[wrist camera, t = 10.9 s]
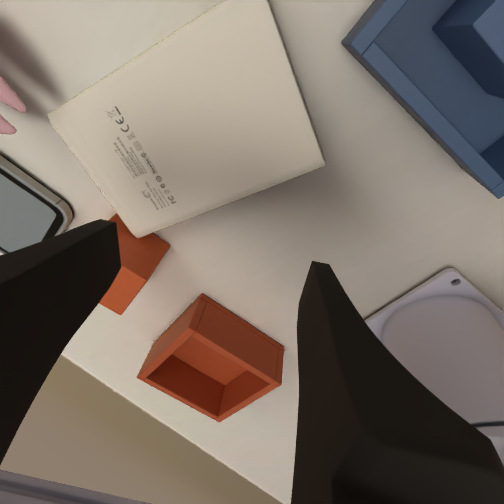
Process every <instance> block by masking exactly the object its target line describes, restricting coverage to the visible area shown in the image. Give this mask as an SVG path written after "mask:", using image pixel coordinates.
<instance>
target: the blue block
mask: <svg viewBox="0 0 504 504" xmlns="http://www.w3.org/2000/svg"><path fill="white" fill-rule="evenodd" d="M432 30H433V31H434V32H435V34H436V35H437V36H438V37H439V38H440V39H441V41H442V42H443V43H444V44H445V45H446V46H447V48H448V49H449V50H450V51H451V52H452V53H453V54H454V56H455V57H456V58H457V59H458V60H459V61H460V63H461V64H462V65H463V66H464V67H465V68H466V70H467V71H468V72H469V73H470V74H471V75H472V77H473V78H474V79H475V80H476V81H477V82H478V84H479V85H480V86H481V87H482V88H483V89H484V90H485V92H486V93H487V94H489V95H493V96H496V97H499V98H502V99H504V0H457V1H456V2H455V3H454V4H453V5H452V6H451V7H450V8H449V9H448V11H447V12H446V13H445V14H444V15H443V16H442V17H441V18H440V19H439V20H438V21H437V22H436V24H435V25H434V26H433V27H432Z"/></svg>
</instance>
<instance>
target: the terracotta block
mask: <svg viewBox="0 0 504 504" xmlns="http://www.w3.org/2000/svg"><path fill="white" fill-rule="evenodd" d="M109 221H112V222H116V223H117V232H118V241H119V249H120V258H121V269H120V271H119V273H118V274H117V276H116V278H115V280H114V282H113V283H112V285H111V287H110V288H109V290H108V291H107V293H106V294H105V295H104V297H103V298H102V299H101V301H100V302H99V303H100V304H101V305H103V306H105V307H107V308H108V309H110V310H112V311H114V312H115V313H117V314H119V315H122V313H123V312H124V311H125V310H126V308H127V307H128V306H129V304H130V303H131V302H132V300H133V299H134V298H135V296H136V295H137V294H138V293H139V291H140V290H141V289H142V287H143V286H144V285H145V283H146V282H147V281H148V279H149V278H150V276H151V275H152V273H153V271H154V270H155V268H156V267H157V265H158V264H159V262H160V261H161V259H162V258H163V256H164V254H165V253H166V251H167V250H168V248H169V247H170V245H169V244H168V243H166V242H165V241H163V240H162V239H160V238H159V237H157V236H156V235H154V234H153V233H150V234H148V235H145V236H143V237H140V238H137V237H135V236H134V235H133V234H132V233H131V232H130V230H129V229H128V228H127V226H126V225H125V224H124V222H123V221H122V219H121V218H120V217H119V215H118V214H117V213H116V214H115V215H114V216H113V217H112V218H111V219H110V220H109Z"/></svg>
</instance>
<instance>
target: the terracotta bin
mask: <svg viewBox="0 0 504 504" xmlns="http://www.w3.org/2000/svg"><path fill="white" fill-rule="evenodd" d="M283 351H284V347H283V346H282V345H280V344H279V343H277V342H276V341H274V340H273V339H271V338H270V337H268V336H267V335H265V334H264V333H262V332H260V331H259V330H257V329H256V328H254V327H253V326H251V325H250V324H248V323H247V322H245V321H244V320H242V319H241V318H239V317H238V316H236V315H234V314H233V313H231V312H230V311H228V310H227V309H225V308H224V307H222V306H221V305H219V304H218V303H216V302H215V301H213V300H212V299H210V298H208V297H207V296H205V295H204V294H201V295H200V296H199V297H198V298H197V299H196V300H195V301H194V302H193V303H192V304H191V305H190V306H189V307H188V308H187V309H186V310H185V312H184V313H183V314H182V315H181V316H180V317H179V318H178V319H177V320H176V321H175V322H174V323H173V324H172V325H171V326H170V327H169V328H168V329H167V330H166V331H165V332H164V333H163V334H162V335H161V336H160V337H159V338H158V339H157V340H156V341H155V342H154V343H153V345H152V348H151V349H150V351H149V353H148V355H147V357H146V359H145V361H144V363H143V365H142V368H141V370H140V372H139V374H138V376H137V378H138V379H140V380H142V381H144V382H145V383H147V384H149V385H151V386H153V387H155V388H157V389H158V390H160V391H162V392H164V393H166V394H168V395H170V396H171V397H173V398H175V399H177V400H179V401H181V402H183V403H184V404H186V405H188V406H190V407H192V408H194V409H196V410H197V411H199V412H201V413H203V414H205V415H207V416H209V417H210V418H212V419H214V420H216V421H218V422H221V421H222V420H224V419H226V418H227V417H229V416H231V415H232V414H234V413H236V412H237V411H239V410H240V409H242V408H244V407H245V406H247V405H249V404H250V403H252V402H254V401H255V400H257V399H259V398H260V397H262V396H263V395H265V394H267V393H268V392H270V391H272V390H273V389H275V388H277V387H278V386H280V385H281V383H282V368H283V354H284V352H283Z"/></svg>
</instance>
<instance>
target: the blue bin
mask: <svg viewBox="0 0 504 504" xmlns="http://www.w3.org/2000/svg"><path fill="white" fill-rule="evenodd" d="M456 1H457V0H375V1H374V2H373V3H372V5H371V6H370V7H369V8H368V10H367V11H366V12H365V13H364V15H363V16H362V17H361V18H360V20H359V21H358V22H357V23H356V25H355V26H354V27H353V28H352V30H351V31H350V32H349V33H348V35H347V36H346V37H345V38H344V40H343V41H342V45H343V46H344V47H345V48H346V49H347V50H348V51H349V52H350V53H351V54H352V55H353V56H354V57H355V58H356V59H357V60H358V61H359V62H360V63H361V64H362V65H363V66H364V67H365V69H366V70H367V71H368V72H369V73H370V74H371V75H372V76H373V77H374V78H375V79H376V80H377V81H378V82H379V83H380V84H381V85H382V86H383V87H384V88H385V89H386V90H387V91H388V92H389V93H390V94H391V95H392V96H393V97H394V98H395V99H396V100H397V102H398V103H399V104H400V105H401V106H402V107H403V108H404V109H405V110H406V111H407V112H408V113H409V114H410V115H411V116H412V117H413V118H414V119H415V120H416V121H417V122H418V123H419V124H420V125H421V126H422V127H423V128H424V129H425V130H426V131H427V132H428V133H429V135H430V136H431V137H432V138H433V139H434V140H435V141H436V142H437V143H438V144H439V145H440V146H441V147H442V148H443V149H444V150H445V151H446V152H447V153H448V154H449V155H450V156H451V157H452V158H453V159H454V160H455V161H456V162H457V163H458V164H459V165H460V166H461V168H462V169H463V170H464V171H465V172H467V173H468V174H469V175H470V176H471V177H473V178H474V179H475V180H476V181H477V182H479V183H480V184H481V185H482V186H483V187H485V188H486V189H487V190H488V191H490V192H491V193H492V194H493V195H494V196H496V197H497V198H498V199H499V198H501V197H502V196H504V99H502V98H499V97H496V96H493V95H489V94H487V93H486V92H485V90H484V89H483V88H482V87H481V86H480V85H479V84H478V82H477V81H476V80H475V79H474V78H473V77H472V75H471V74H470V73H469V72H468V71H467V70H466V68H465V67H464V66H463V65H462V64H461V63H460V61H459V60H458V59H457V58H456V57H455V56H454V54H453V53H452V52H451V51H450V50H449V49H448V48H447V46H446V45H445V44H444V43H443V42H442V41H441V39H440V38H439V37H438V36H437V35H436V34H435V32H434V31H433V30H432V27H433V26H434V25H435V24H436V22H437V21H438V20H439V19H440V18H441V17H442V16H443V15H444V14H445V13H446V12H447V11H448V9H449V8H450V7H451V6H452V5H453V4H454V3H455V2H456Z"/></svg>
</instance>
